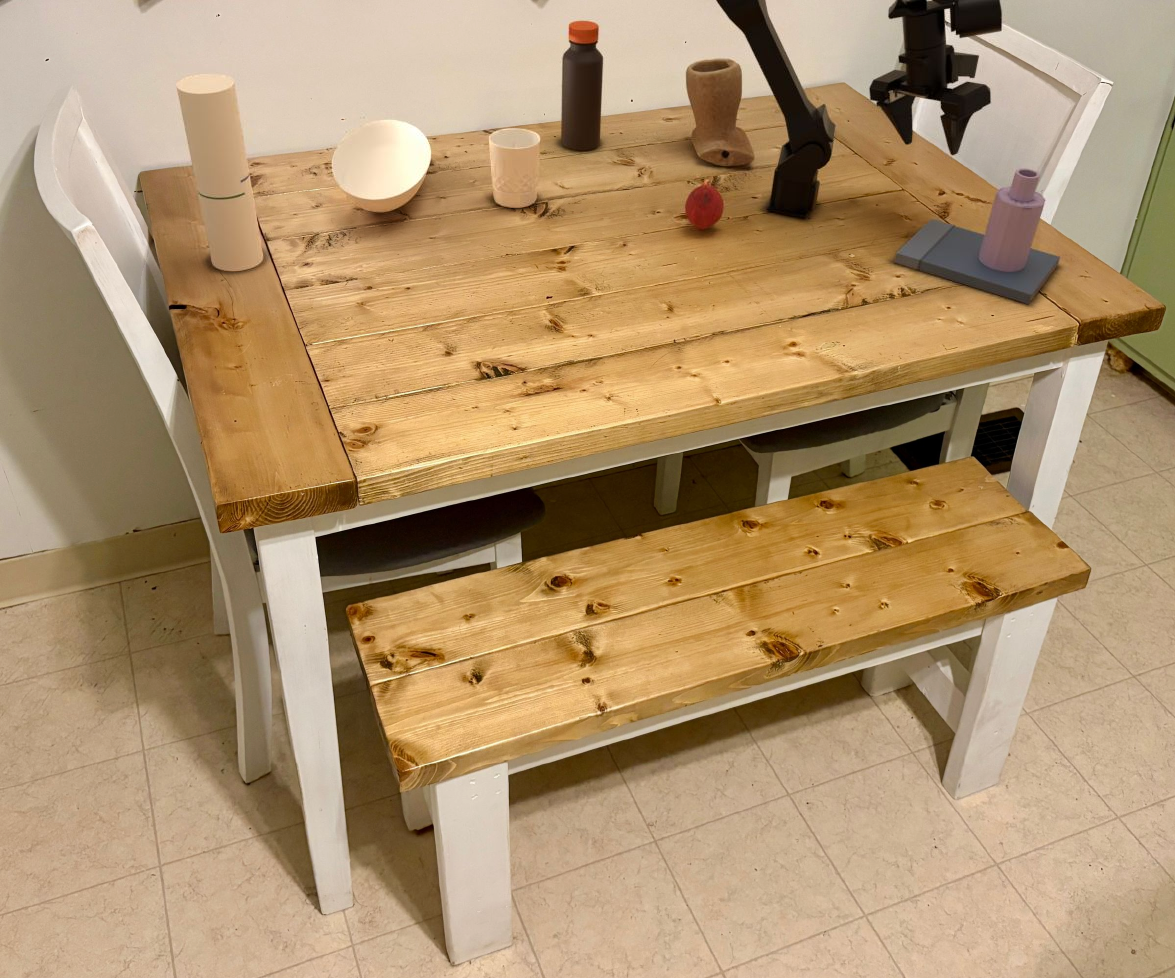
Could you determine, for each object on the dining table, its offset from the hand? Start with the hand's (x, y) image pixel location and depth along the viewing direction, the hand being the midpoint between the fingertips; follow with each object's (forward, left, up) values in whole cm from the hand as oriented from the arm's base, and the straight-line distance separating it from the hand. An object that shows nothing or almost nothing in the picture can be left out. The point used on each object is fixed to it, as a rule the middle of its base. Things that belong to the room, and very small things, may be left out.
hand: (931, 148), depth 168 cm
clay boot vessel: (-37, +11, -12) cm, 40 cm away
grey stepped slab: (+11, -9, -12) cm, 19 cm away
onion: (-29, -18, -12) cm, 36 cm away
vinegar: (-59, +3, -12) cm, 60 cm away
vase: (+14, -10, -10) cm, 20 cm away
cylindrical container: (-85, -58, -12) cm, 103 cm away
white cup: (-59, -22, -12) cm, 64 cm away
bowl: (-78, -30, -12) cm, 84 cm away
